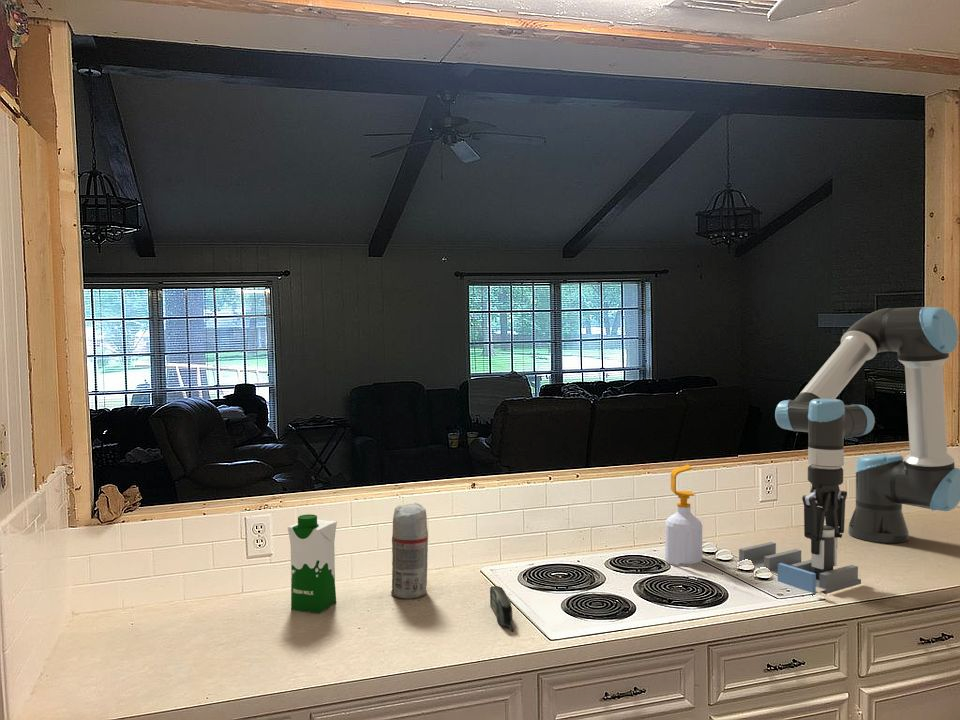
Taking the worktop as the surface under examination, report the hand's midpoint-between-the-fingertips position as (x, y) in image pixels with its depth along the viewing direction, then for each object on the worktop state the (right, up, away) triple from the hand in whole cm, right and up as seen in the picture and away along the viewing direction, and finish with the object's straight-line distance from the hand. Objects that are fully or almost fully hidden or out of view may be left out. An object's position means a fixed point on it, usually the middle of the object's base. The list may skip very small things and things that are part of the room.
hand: (823, 565), depth 177 cm
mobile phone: (-75, -6, -20) cm, 78 cm away
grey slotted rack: (-4, -4, +7) cm, 8 cm away
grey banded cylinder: (0, -3, 0) cm, 3 cm away
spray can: (-96, -5, -5) cm, 96 cm away
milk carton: (-116, -6, -12) cm, 117 cm away
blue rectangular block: (-9, -4, -5) cm, 11 cm away
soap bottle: (-28, -4, +16) cm, 33 cm away
